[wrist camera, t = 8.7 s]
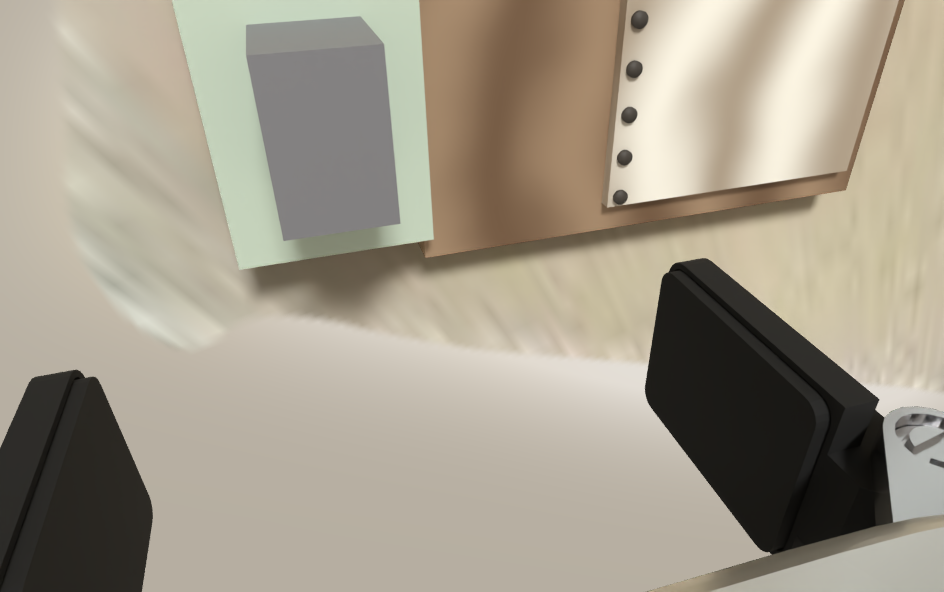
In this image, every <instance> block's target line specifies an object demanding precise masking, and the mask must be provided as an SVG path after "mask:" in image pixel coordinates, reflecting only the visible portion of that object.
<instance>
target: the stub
mask: <svg viewBox="0 0 944 592" xmlns="http://www.w3.org/2000/svg"><path fill="white" fill-rule="evenodd" d="M172 3H173V7H174V11H175V15H176V19H177V23H178V27H179V31H180V35H181V39H182V43H183V47H184V51H185V55H186V59H187V63H188V67H189V71H190V75H191V79H192V83H193V87H194V91H195V95H196V99H197V103H198V107H199V111H200V115H201V119H202V123H203V127H204V131H205V135H206V139H207V143H208V147H209V151H210V155H211V159H212V163H213V167H214V171H215V175H216V179H217V183H218V187H219V191H220V195H221V199H222V202H223V206H224V210H225V214H226V218H227V222H228V226H229V230H230V234H231V238H232V242H233V246H234V250H235V254H236V258H237V262H238V266H239V270H241V269H247V268H254V267H260V266H267V265H273V264H279V263H286V262H292V261H299V260H305V259H312V258H318V257H324V256H331V255H337V254H344V253H350V252H357V251H363V250H369V249H376V248H382V247H389V246H395V245H402V244H408V243H415V242H421V241H427V240H434V235H433V218H432V202H431V186H430V170H429V153H428V137H427V121H426V105H425V88H424V72H423V56H422V39H421V23H420V7H419V0H172Z"/></svg>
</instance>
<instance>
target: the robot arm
mask: <svg viewBox="0 0 944 592" xmlns="http://www.w3.org/2000/svg"><path fill="white" fill-rule="evenodd" d="M645 394H646V398H647V401H648V403H649V405H650V406H651V408H652V409H653V411H654V412H655V413H656V414H657V416H658V417H659V419H660V420H661V421H662V423H663V424H664V425H665V427H666V428H667V429H668V430H669V432H670V433H671V434H672V436H673V437H674V438H675V440H676V441H677V442H678V444H679V445H680V446H681V447H682V449H683V450H684V451H685V453H686V454H687V455H688V457H689V458H690V459H691V461H692V462H693V463H694V464H695V466H696V467H697V468H698V470H699V471H700V472H701V474H702V475H703V476H704V478H705V479H706V480H707V481H708V483H709V484H710V485H711V487H712V488H713V489H714V491H715V492H716V493H717V495H718V496H719V497H720V498H721V500H722V501H723V502H724V504H725V505H726V506H727V508H728V509H729V510H730V512H732V514H733V515H734V517H735V518H736V519H737V521H738V522H739V523H740V525H741V526H742V527H743V529H744V530H745V531H746V532H747V534H748V535H749V536H750V538H751V539H752V540H753V542H754V543H755V544H756V545H757V546H758V548H760V549H761V550H762V551H765V552H770V553H771V554H772V555H770V556H767V557H763V558H759V559H756V560H753V561H749V562H746V563H743V564H739V565H736V566H732V567H729V568H726V569H722V570H719V571H715V572H712V573H708V574H705V575H701V576H698V577H695V578H691V579H688V580H685V581H681V582H678V583H674V584H671V585H667V586H664V587H660V588H657V589H654V590H651V591H647V592H944V412H942V411H939V410H936V409H931V408H924V407H901V408H899V409H896V410H893V411H891V412H890V413H889V414H888V415H887V416H886V417H885V418H884V417H883V416H882V415H880V414H879V413H878V412H877V411H876V410H875V408H876V406H877V404H878V401H879V399H878V398H877V397H876V396H875V395H873V394H872V393H871V392H870V391H869V390H867V389H866V388H865V387H864V386H862V385H861V384H860V383H859V382H858V381H856V380H855V379H854V378H853V377H852V376H850V375H849V374H848V373H847V372H845V371H844V370H843V369H842V368H841V367H839V366H838V365H837V364H836V363H835V362H833V361H832V360H831V359H830V358H828V357H827V356H826V355H825V354H824V353H822V352H821V351H820V350H819V349H817V348H816V347H815V346H814V345H813V344H811V343H810V342H809V341H808V340H807V339H805V338H804V337H803V336H802V335H800V334H799V333H798V332H797V331H796V330H794V329H793V328H792V327H791V326H789V325H788V324H787V323H786V322H785V321H783V320H782V319H781V318H780V317H779V316H777V315H776V314H775V313H774V312H772V311H771V310H770V309H769V308H768V307H766V306H765V305H764V304H763V303H761V302H760V301H759V300H758V299H757V298H755V297H754V296H753V295H752V294H751V293H749V292H748V291H747V290H746V289H744V288H743V287H742V286H741V285H740V284H738V283H737V282H736V281H735V280H733V279H732V278H731V277H730V276H729V275H727V274H726V273H725V272H724V271H723V270H721V269H720V268H719V267H718V266H716V265H715V264H714V263H713V262H712V261H710V260H708V259H706V258H701V259H696V260H690V261H685V262H679V263H675V264H674V265H672V267H671V268H670V271H669V272H668V273H666V274H665V275H664V276H663V278H662V282H661V289H660V295H659V301H658V308H657V314H656V320H655V327H654V333H653V340H652V346H651V352H650V359H649V365H648V371H647V378H646V385H645ZM152 519H153V513H152V505H151V500H150V497H149V495H148V492H147V490H146V488H145V485H144V483H143V481H142V479H141V476H140V474H139V472H138V469H137V467H136V465H135V462H134V460H133V458H132V455H131V453H130V451H129V449H128V446H127V444H126V442H125V439H124V437H123V435H122V432H121V430H120V428H119V426H118V423H117V421H116V419H115V416H114V414H113V412H112V410H111V407H110V405H109V403H108V400H107V398H106V396H105V393H104V391H103V389H102V387H101V384H100V383H99V381H98V379H97V378H96V377H88V378H85V377H84V375H83V374H82V373H81V372H80V371H78V370H72V371H67V372H60V373H55V374H50V375H44V376H38V377H34V378H32V379H31V381H30V382H29V384H28V386H27V389H26V391H25V393H24V396H23V398H22V400H21V402H20V404H19V407H18V409H17V411H16V414H15V416H14V418H13V421H12V423H11V425H10V427H9V429H8V432H7V434H6V436H5V439H4V441H3V443H2V445H1V448H0V592H142V585H143V580H144V573H145V567H146V560H147V553H148V547H149V540H150V533H151V527H152Z"/></svg>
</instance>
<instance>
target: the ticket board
mask: <svg viewBox="0 0 944 592" xmlns="http://www.w3.org/2000/svg"><path fill="white" fill-rule="evenodd" d="M904 1H905V0H419V7H420V23H421V39H422V56H423V72H424V88H425V105H426V121H427V137H428V153H429V170H430V186H431V202H432V218H433V235H434V240H427V241H421V242H418V243H419V245H420V248H421V250H422V252H423V254H424V256H425V258H428V257H435V256H441V255H447V254H453V253H459V252H466V251H472V250H478V249H484V248H490V247H496V246H503V245H509V244H515V243H521V242H527V241H534V240H540V239H546V238H552V237H558V236H565V235H571V234H577V233H583V232H589V231H596V230H602V229H608V228H614V227H620V226H627V225H633V224H639V223H645V222H651V221H658V220H664V219H670V218H676V217H682V216H688V215H695V214H701V213H707V212H713V211H719V210H726V209H732V208H738V207H744V206H750V205H757V204H763V203H769V202H775V201H781V200H788V199H794V198H800V197H806V196H812V195H819V194H825V193H831V192H837V191H843V190H846V188H847V184H848V181H849V178H850V175H851V171H852V168H853V165H854V162H855V159H856V155H857V152H858V149H859V146H860V142H861V139H862V136H863V133H864V130H865V126H866V123H867V120H868V117H869V113H870V110H871V107H872V104H873V101H874V97H875V94H876V91H877V88H878V84H879V81H880V78H881V75H882V72H883V68H884V65H885V62H886V59H887V55H888V52H889V49H890V46H891V43H892V39H893V36H894V33H895V30H896V26H897V23H898V20H899V17H900V14H901V10H902V7H903V4H904Z"/></svg>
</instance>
